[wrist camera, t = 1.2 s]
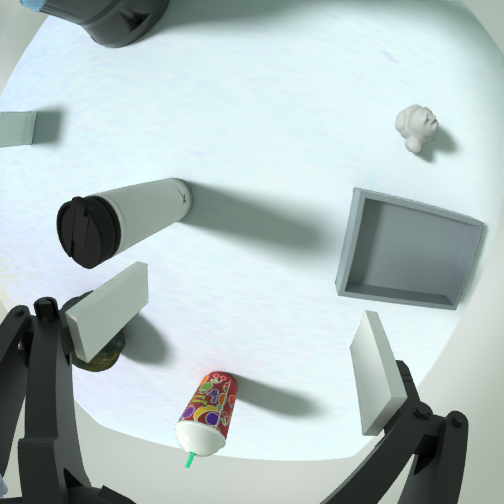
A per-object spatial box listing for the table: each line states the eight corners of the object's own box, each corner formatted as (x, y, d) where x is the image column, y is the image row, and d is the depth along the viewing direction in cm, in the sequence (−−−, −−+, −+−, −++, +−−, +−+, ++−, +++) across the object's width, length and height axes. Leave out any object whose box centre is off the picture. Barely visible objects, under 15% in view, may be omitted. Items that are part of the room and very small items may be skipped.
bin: (354, 187, 32) (360, 190, 29) (469, 216, 30) (483, 222, 26) (335, 282, 37) (338, 295, 33) (445, 297, 34) (455, 310, 31)
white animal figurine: (428, 115, 27) (457, 107, 20) (422, 159, 29) (450, 161, 22) (394, 101, 28) (417, 88, 20) (387, 146, 30) (409, 143, 22)
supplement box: (37, 111, 36) (-9, 111, 25) (32, 145, 39) (-14, 150, 27) (23, 112, 37) (-20, 113, 25) (18, 143, 40) (-24, 149, 28)
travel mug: (200, 186, 36) (105, 217, 18) (183, 227, 39) (92, 286, 20) (163, 168, 36) (56, 186, 18) (149, 209, 39) (48, 252, 20)
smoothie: (213, 358, 46) (171, 447, 27) (251, 381, 46) (225, 473, 27) (194, 380, 49) (154, 459, 30) (229, 400, 49) (200, 481, 31)
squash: (106, 379, 47) (83, 394, 33) (59, 333, 47) (26, 333, 33) (142, 332, 52) (127, 334, 38) (93, 286, 52) (66, 274, 38)
